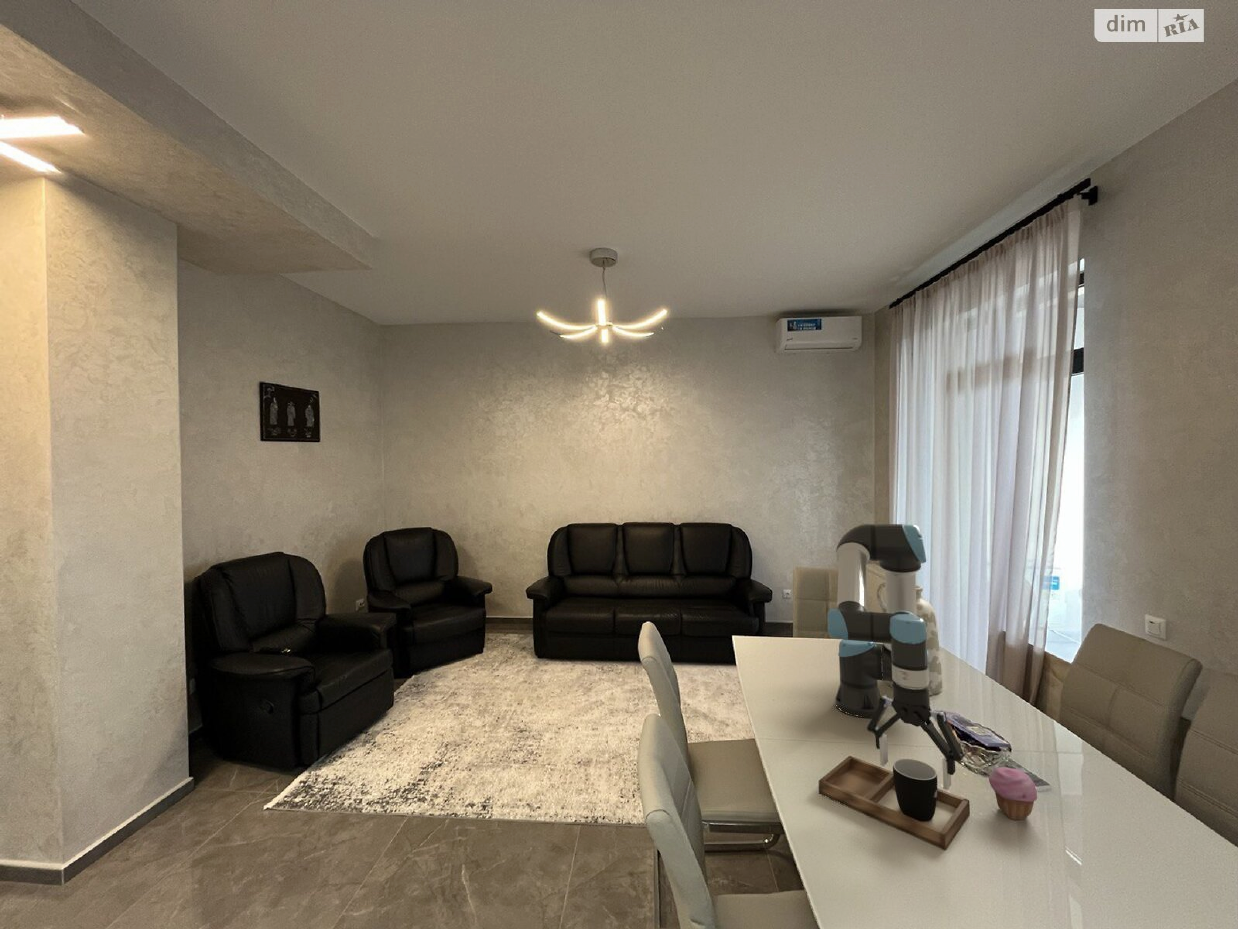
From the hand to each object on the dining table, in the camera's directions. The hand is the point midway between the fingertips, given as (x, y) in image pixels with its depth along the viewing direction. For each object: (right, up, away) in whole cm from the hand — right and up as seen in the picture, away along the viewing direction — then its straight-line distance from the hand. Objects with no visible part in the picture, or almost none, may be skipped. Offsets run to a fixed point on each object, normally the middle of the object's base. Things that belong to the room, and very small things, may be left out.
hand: (914, 774), depth 123 cm
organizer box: (-4, -9, +3) cm, 10 cm away
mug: (0, -8, 0) cm, 8 cm away
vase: (+40, -10, +73) cm, 84 cm away
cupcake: (+22, -8, -2) cm, 23 cm away
